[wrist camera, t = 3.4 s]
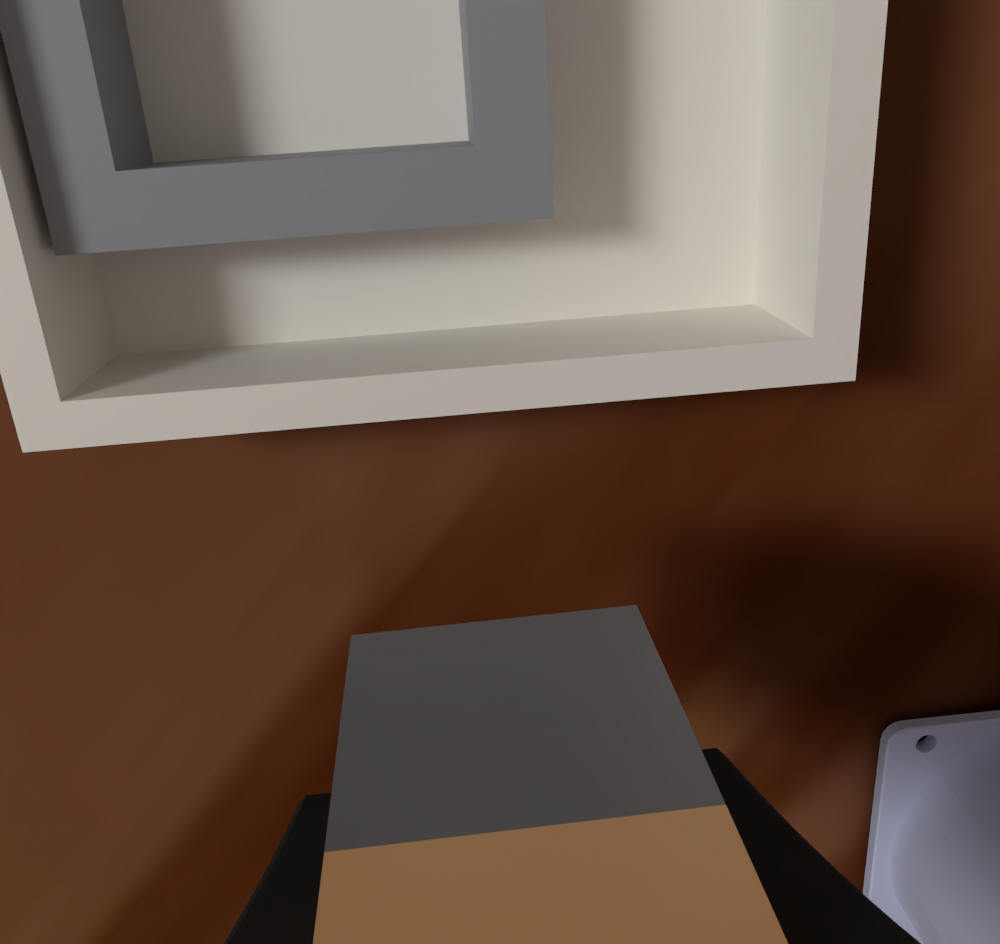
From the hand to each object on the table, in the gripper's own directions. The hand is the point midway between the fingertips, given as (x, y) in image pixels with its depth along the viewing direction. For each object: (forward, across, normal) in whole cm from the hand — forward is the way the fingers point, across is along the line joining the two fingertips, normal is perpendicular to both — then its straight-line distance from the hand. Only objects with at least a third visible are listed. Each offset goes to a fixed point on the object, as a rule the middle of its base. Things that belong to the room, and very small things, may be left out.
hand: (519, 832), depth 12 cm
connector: (+2, 0, 0) cm, 2 cm away
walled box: (+9, 0, -10) cm, 13 cm away
